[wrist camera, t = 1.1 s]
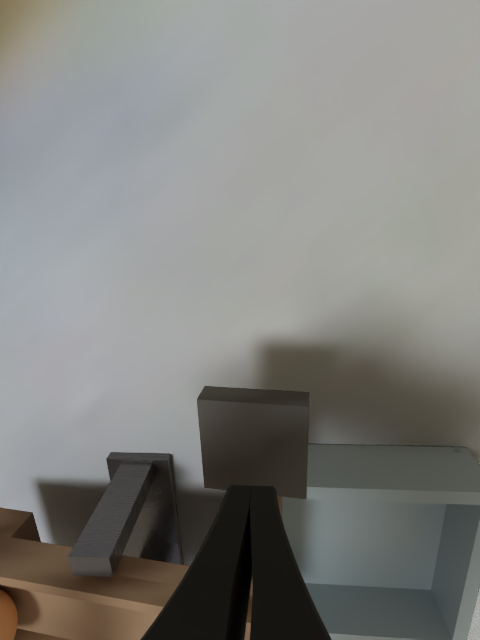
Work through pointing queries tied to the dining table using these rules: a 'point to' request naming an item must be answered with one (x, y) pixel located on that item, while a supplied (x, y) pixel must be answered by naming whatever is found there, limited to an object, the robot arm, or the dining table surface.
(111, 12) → the dining table surface
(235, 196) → the dining table surface
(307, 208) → the dining table surface
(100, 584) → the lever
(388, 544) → the tray
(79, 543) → the stand
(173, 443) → the dining table surface
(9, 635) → the ball
